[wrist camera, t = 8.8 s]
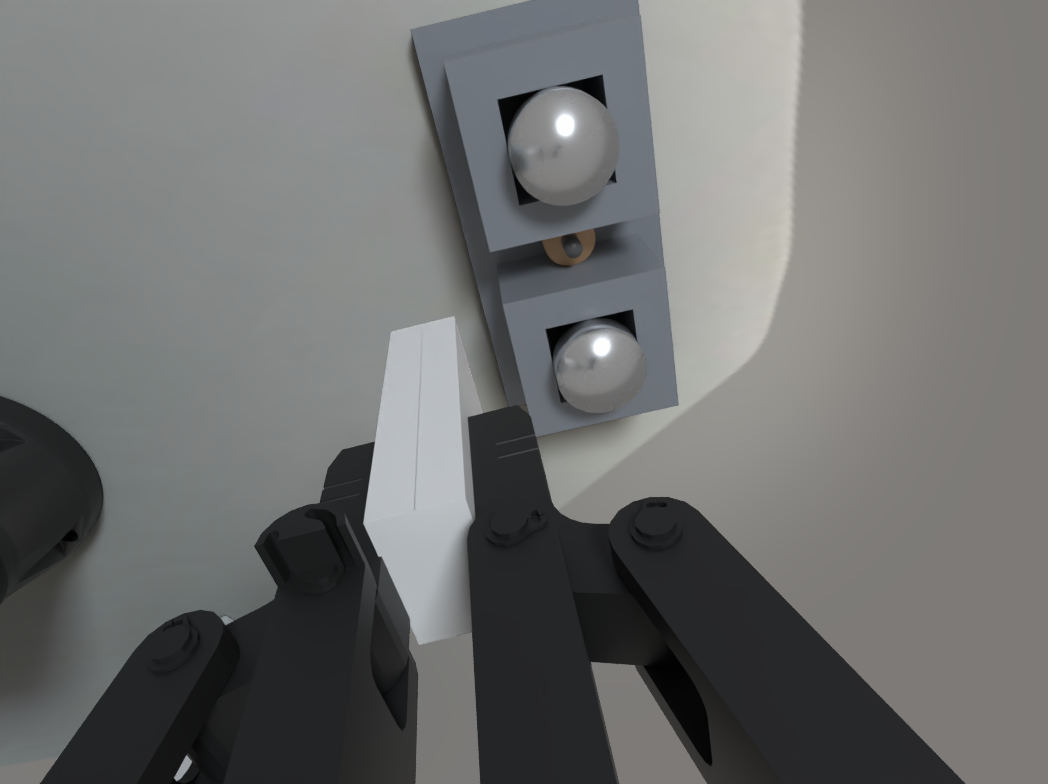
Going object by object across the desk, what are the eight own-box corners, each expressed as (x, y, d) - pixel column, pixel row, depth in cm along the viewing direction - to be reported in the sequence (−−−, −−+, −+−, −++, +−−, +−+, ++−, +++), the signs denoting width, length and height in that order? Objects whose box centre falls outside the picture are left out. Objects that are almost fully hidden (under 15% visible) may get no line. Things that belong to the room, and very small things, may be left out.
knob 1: (511, 179, 38) (522, 216, 31) (491, 87, 35) (499, 104, 28) (595, 159, 37) (625, 192, 30) (581, 65, 35) (611, 78, 28)
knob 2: (548, 357, 44) (565, 421, 37) (534, 289, 41) (549, 344, 34) (621, 340, 44) (651, 402, 37) (611, 272, 41) (641, 323, 34)
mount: (507, 396, 47) (516, 461, 40) (412, 29, 35) (401, 32, 28) (668, 360, 47) (704, 419, 40) (628, -24, 35) (670, -33, 28)
